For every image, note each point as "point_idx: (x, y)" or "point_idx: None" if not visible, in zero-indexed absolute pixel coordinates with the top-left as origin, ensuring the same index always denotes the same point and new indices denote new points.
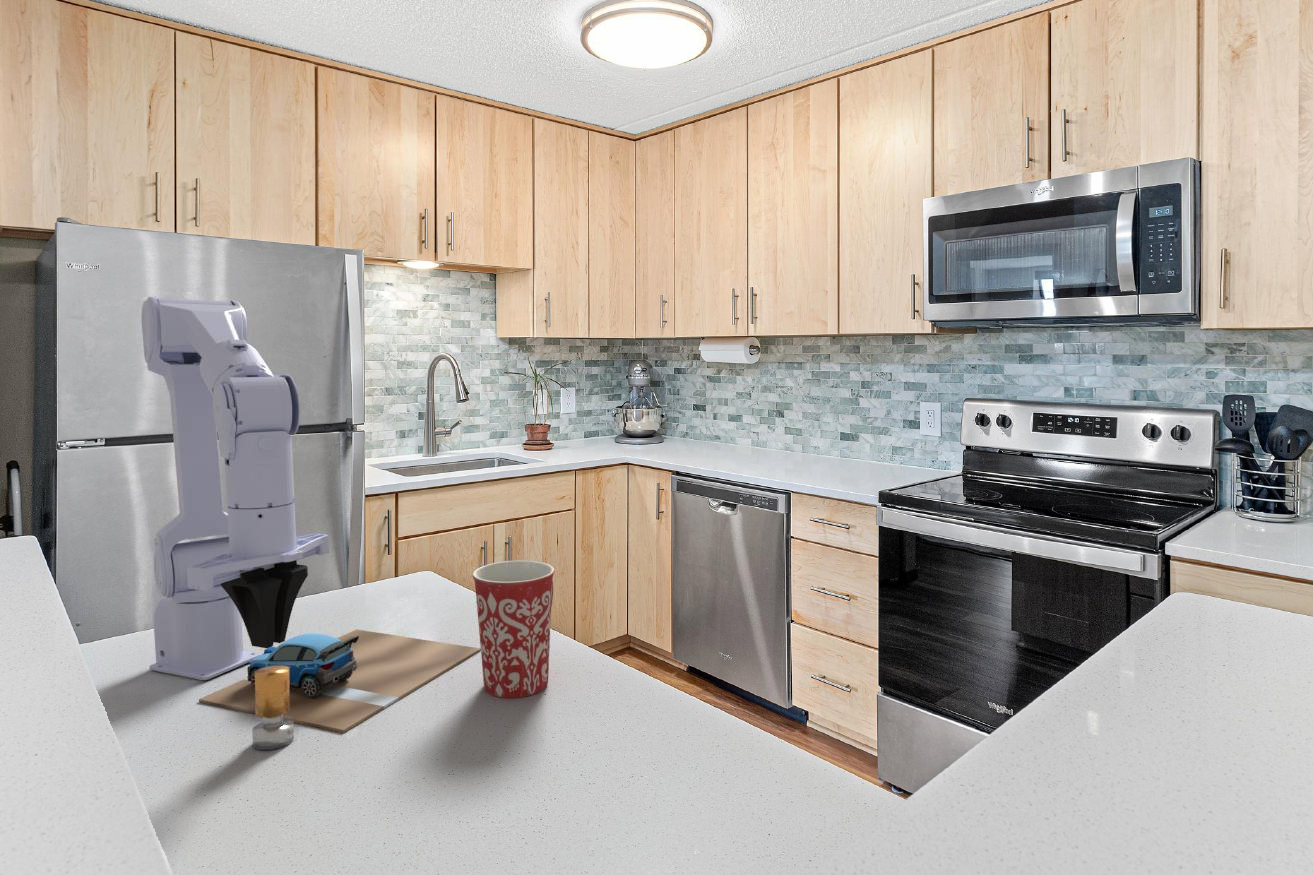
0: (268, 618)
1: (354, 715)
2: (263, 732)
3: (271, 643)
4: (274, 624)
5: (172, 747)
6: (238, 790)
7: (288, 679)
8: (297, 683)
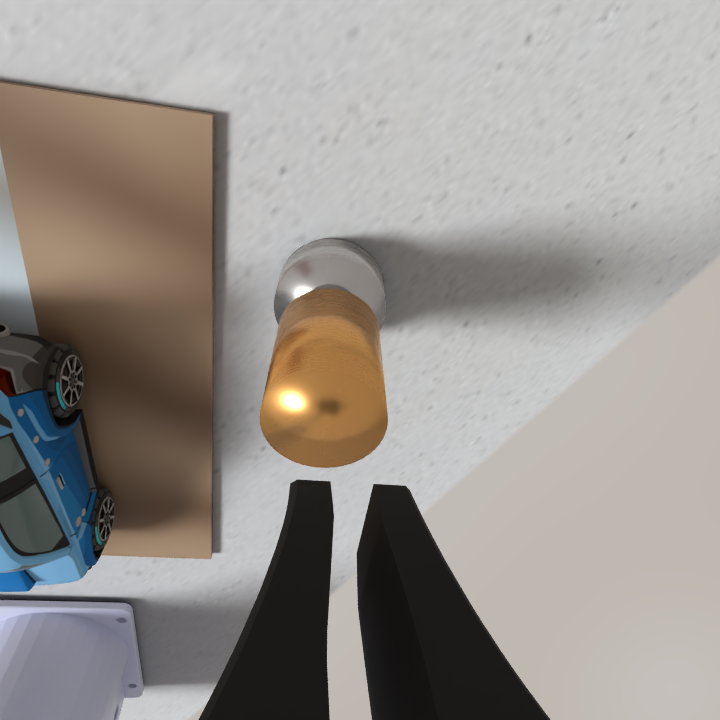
0: (467, 633)
1: (105, 149)
2: (374, 307)
3: (390, 495)
4: (402, 578)
5: (402, 465)
6: (579, 197)
7: (304, 349)
8: (76, 422)
